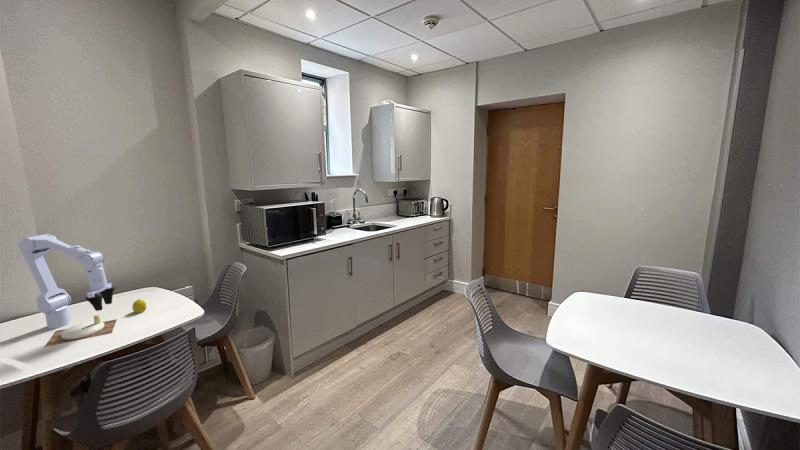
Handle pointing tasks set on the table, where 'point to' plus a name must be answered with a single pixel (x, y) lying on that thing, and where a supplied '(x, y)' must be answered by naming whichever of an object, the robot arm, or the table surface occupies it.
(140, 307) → the lemon
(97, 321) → the dial
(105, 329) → the brown flat wooden board
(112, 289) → the robot arm
